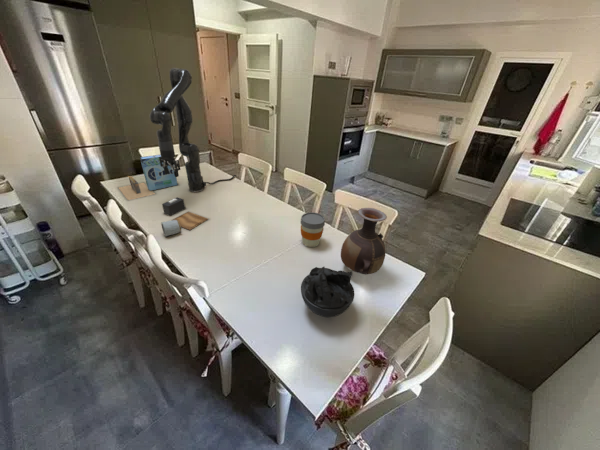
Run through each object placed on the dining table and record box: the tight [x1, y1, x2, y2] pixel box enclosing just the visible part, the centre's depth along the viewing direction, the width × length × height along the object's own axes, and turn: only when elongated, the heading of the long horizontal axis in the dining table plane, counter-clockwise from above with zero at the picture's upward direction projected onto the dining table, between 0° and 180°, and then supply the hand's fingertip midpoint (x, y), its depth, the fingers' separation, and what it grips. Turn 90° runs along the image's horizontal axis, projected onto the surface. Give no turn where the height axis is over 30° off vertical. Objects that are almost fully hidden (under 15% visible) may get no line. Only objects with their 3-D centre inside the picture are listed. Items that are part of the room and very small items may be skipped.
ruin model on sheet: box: [118, 175, 156, 201], centre depth 174 cm, size 25×16×10 cm, turn 44°
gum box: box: [139, 154, 179, 191], centre depth 177 cm, size 20×5×23 cm, turn 134°
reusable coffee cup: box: [300, 211, 326, 248], centre depth 132 cm, size 13×13×15 cm
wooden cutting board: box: [172, 211, 209, 231], centre depth 147 cm, size 14×16×1 cm
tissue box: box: [161, 196, 186, 217], centre depth 154 cm, size 11×5×7 cm, turn 153°
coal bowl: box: [300, 266, 355, 318], centre depth 94 cm, size 20×20×19 cm
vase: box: [340, 207, 388, 275], centre depth 112 cm, size 23×19×30 cm
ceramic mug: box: [160, 219, 182, 237], centre depth 134 cm, size 11×8×8 cm
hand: (171, 175), depth 154 cm, fingers open, 8 cm apart
